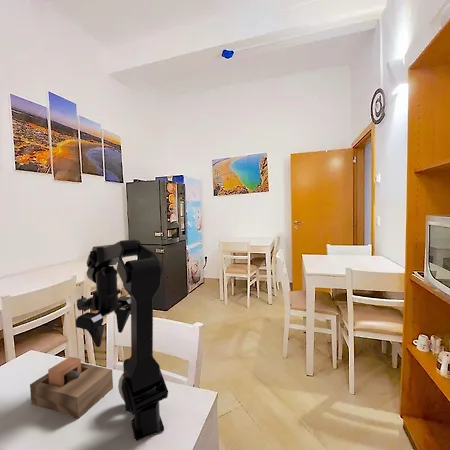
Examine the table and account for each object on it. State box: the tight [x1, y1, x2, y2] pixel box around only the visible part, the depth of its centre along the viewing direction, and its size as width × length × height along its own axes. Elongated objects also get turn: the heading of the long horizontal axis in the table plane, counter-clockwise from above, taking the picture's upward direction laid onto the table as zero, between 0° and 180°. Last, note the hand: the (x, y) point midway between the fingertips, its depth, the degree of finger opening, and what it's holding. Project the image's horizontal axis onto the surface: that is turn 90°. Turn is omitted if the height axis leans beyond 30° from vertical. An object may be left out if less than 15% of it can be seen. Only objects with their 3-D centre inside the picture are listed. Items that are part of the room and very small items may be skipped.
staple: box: [47, 356, 82, 388], centre depth 78 cm, size 7×4×6 cm, turn 161°
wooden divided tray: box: [29, 362, 114, 420], centre depth 77 cm, size 16×12×7 cm
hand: (109, 339), depth 84 cm, fingers open, 9 cm apart
